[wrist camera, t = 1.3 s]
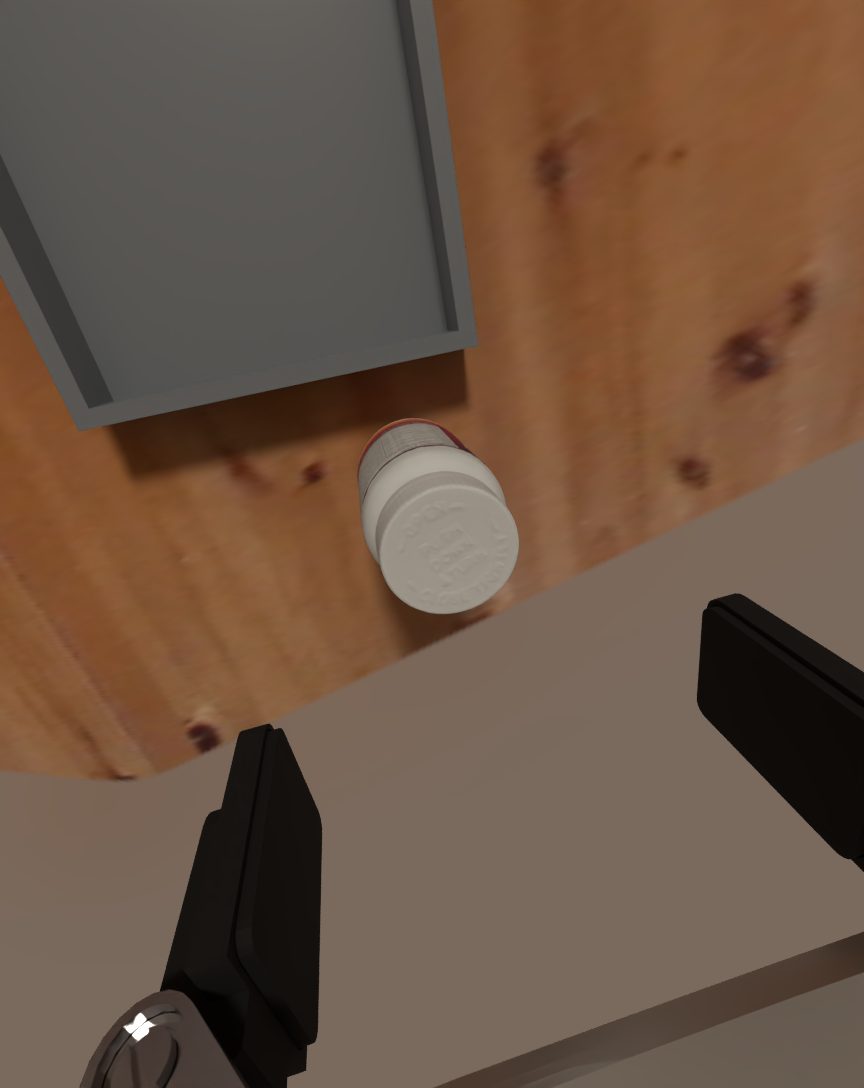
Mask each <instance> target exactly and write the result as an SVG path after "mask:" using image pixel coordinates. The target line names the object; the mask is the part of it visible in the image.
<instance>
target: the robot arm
mask: <svg viewBox="0 0 864 1088" xmlns="http://www.w3.org/2000/svg"><path fill="white" fill-rule="evenodd" d="M697 703H698V706H699V709H700V711H701V712H702V714H703V715H704V716H705V717H706V718H707V719H708V720H709V722H711V724H712V725H713V726H714V727H715V728H716V729H717V730H718V731H719V732H720V733H721V734H722V735H723V736H724V737H725V738H726V739H727V740H728V741H729V742H730V743H731V744H732V745H733V746H734V747H735V748H736V749H737V750H738V751H739V753H740V754H742V756H743V757H744V758H745V759H746V760H747V761H748V762H749V763H750V764H751V765H752V766H753V767H754V768H755V769H756V770H757V771H758V772H759V773H760V774H761V775H762V776H763V777H764V778H765V779H766V780H767V781H768V782H769V783H770V785H771V786H772V787H773V788H774V789H775V790H776V791H777V792H778V793H779V794H780V795H781V796H782V797H783V798H784V799H785V800H786V801H787V802H788V803H789V804H790V805H791V806H792V807H793V808H794V809H795V810H796V811H797V812H798V813H799V814H800V816H802V818H803V819H804V820H805V821H806V822H807V823H808V824H809V825H810V826H811V827H812V828H813V829H814V830H815V831H816V832H817V833H818V834H819V835H820V836H821V837H822V838H823V839H824V840H825V841H826V842H827V843H828V844H829V845H830V846H831V847H832V848H833V849H834V850H835V851H836V852H837V853H838V854H839V855H841V856H842V857H844V858H846V859H851V860H852V861H854V863H855V864H856V865H858V867H859V868H860V869H861V870H862V871H863V872H864V672H863V671H861V670H859V669H858V668H856V667H854V666H853V665H852V664H850V663H848V662H847V661H845V660H844V659H842V658H840V657H839V656H837V655H836V654H834V653H833V652H831V651H830V650H828V649H827V648H825V647H823V646H822V645H820V644H819V643H817V642H816V641H814V640H813V639H811V638H809V637H808V636H806V635H804V634H803V633H801V632H800V631H798V630H797V629H795V628H794V627H792V626H790V625H789V624H787V623H786V622H784V621H783V620H781V619H780V618H778V617H776V616H775V615H773V614H772V613H770V612H769V611H767V610H766V609H764V608H762V607H761V606H759V605H757V604H756V603H755V602H753V601H751V600H750V599H748V598H747V597H745V596H743V595H741V594H736V593H735V594H732V595H728V596H724V597H721V598H717V599H714V600H711V601H710V602H709V604H708V606H707V609H705V610H704V611H703V615H702V630H701V645H700V660H699V675H698V690H697ZM321 856H322V824H321V818H320V814H319V811H318V809H317V807H316V805H315V802H314V800H313V798H312V795H311V793H310V791H309V788H308V786H307V784H306V782H305V780H304V777H303V775H302V772H301V770H300V768H299V766H298V763H297V761H296V759H295V756H294V754H293V752H292V749H291V747H290V745H289V743H288V741H287V738H286V736H285V733H284V731H283V730H282V729H281V728H278V729H275V730H274V729H273V727H272V725H271V724H265V725H262V726H258V727H255V728H251V729H247V730H244V731H241V732H240V733H239V736H238V739H237V743H236V747H235V752H234V756H233V761H232V765H231V769H230V773H229V777H228V782H227V786H226V790H225V794H224V799H223V803H222V808H221V809H219V810H216V811H213V812H211V813H210V814H209V815H208V816H207V818H206V820H205V823H204V825H203V829H202V833H201V837H200V840H199V844H198V848H197V852H196V856H195V859H194V863H193V867H192V871H191V874H190V879H189V882H188V886H187V890H186V894H185V897H184V901H183V905H182V909H181V913H180V916H179V920H178V924H177V928H176V932H175V936H174V939H173V943H172V947H171V951H170V955H169V958H168V962H167V966H166V970H165V974H164V978H163V981H162V985H161V989H160V992H157V993H153V994H151V995H150V996H148V997H146V998H144V999H142V1000H141V1001H139V1002H137V1003H136V1004H135V1005H134V1006H133V1007H131V1008H130V1009H129V1010H128V1011H127V1012H126V1013H124V1014H123V1015H122V1016H121V1017H120V1018H119V1019H118V1020H117V1021H116V1023H115V1024H114V1025H113V1026H112V1028H111V1029H110V1030H109V1031H108V1032H107V1034H106V1035H105V1036H104V1037H103V1039H102V1041H101V1043H100V1044H99V1046H98V1047H97V1049H96V1051H95V1052H94V1054H93V1056H92V1057H91V1059H90V1061H89V1064H88V1066H87V1069H86V1071H85V1074H84V1076H83V1079H82V1082H81V1084H80V1088H287V1077H289V1076H292V1075H295V1074H298V1073H301V1072H303V1071H306V1058H307V1045H310V1044H312V1043H314V1042H315V1041H316V1038H317V1032H318V999H319V998H318V997H319V952H320V906H321V859H322V857H321ZM434 1088H864V932H862V933H860V934H857V935H853V936H851V937H848V938H845V939H842V940H839V941H836V942H834V943H831V944H828V945H825V946H822V947H819V948H817V949H814V950H811V951H808V952H805V953H802V954H800V955H797V956H794V957H791V958H788V959H786V960H783V961H780V962H777V963H774V964H771V965H769V966H766V967H763V968H760V969H757V970H755V971H752V972H749V973H746V974H743V975H741V976H738V977H735V978H733V979H729V980H727V981H724V982H721V983H719V984H716V985H713V986H710V987H707V988H704V989H702V990H699V991H696V992H693V993H690V994H688V995H685V996H682V997H680V998H677V999H674V1000H671V1001H668V1002H665V1003H663V1004H660V1005H657V1006H655V1007H652V1008H649V1009H646V1010H643V1011H640V1012H638V1013H635V1014H632V1015H629V1016H627V1017H624V1018H621V1019H618V1020H616V1021H613V1022H610V1023H607V1024H604V1025H602V1026H599V1027H596V1028H594V1029H591V1030H588V1031H586V1032H583V1033H580V1034H577V1035H574V1036H572V1037H569V1038H566V1039H563V1040H561V1041H558V1042H555V1043H553V1044H550V1045H547V1046H544V1047H542V1048H539V1049H536V1050H533V1051H531V1052H528V1053H525V1054H522V1055H520V1056H517V1057H514V1058H512V1059H509V1060H506V1061H503V1062H501V1063H498V1064H495V1065H493V1066H490V1067H487V1068H484V1069H481V1070H479V1071H476V1072H473V1073H471V1074H468V1075H465V1076H462V1077H460V1078H457V1079H455V1080H452V1081H449V1082H447V1083H444V1084H442V1085H439V1086H437V1087H434Z"/></svg>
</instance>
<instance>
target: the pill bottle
mask: <svg viewBox="0 0 864 1088" xmlns="http://www.w3.org/2000/svg"><path fill="white" fill-rule="evenodd" d="M358 487H359V496H360V509H361V522H362V528H363V534H364V538H365V541H366V544H367V546H368V548H369V551H370V553H371V554H372V556H373V557H374V559H375V560H376V562H377V563H378V564H379V565H380V568H381V572H382V574H383V577H384V579H385V581H386V583H387V584H388V586H389V588H390V589H391V590H392V592H393V593H394V594H395V595H396V596H397V597H398V598H399V599H401V600H402V601H403V602H404V603H406V604H408V605H409V606H411V607H414V608H416V609H418V610H421V611H424V612H428V613H434V614H452V613H459V612H463V611H466V610H469V609H472V608H474V607H476V606H479V605H481V604H482V603H484V602H485V601H487V600H488V599H490V598H491V597H492V596H493V595H495V594H496V593H497V592H498V591H499V590H500V589H501V588H502V587H503V585H504V584H505V583H506V581H507V580H508V578H509V577H510V575H511V573H512V571H513V569H514V567H515V564H516V560H517V557H518V550H519V538H518V532H517V527H516V524H515V521H514V519H513V517H512V515H511V513H510V512H509V510H508V509H507V507H506V503H505V498H504V495H503V492H502V489H501V487H500V485H499V483H498V481H497V479H496V478H495V476H494V475H493V474H492V472H491V471H490V470H489V469H488V467H487V466H486V465H485V464H484V463H483V462H482V461H481V460H479V459H478V458H477V457H476V456H475V455H474V454H473V453H472V452H471V451H470V450H469V449H468V448H467V447H466V446H464V445H463V444H462V443H461V442H460V441H459V440H458V439H457V438H456V437H455V436H454V435H453V434H452V433H451V432H450V431H448V430H447V429H446V428H444V427H443V426H441V425H439V424H437V423H435V422H432V421H429V420H426V419H419V418H407V419H401V420H398V421H394V422H392V423H390V424H388V425H386V426H384V427H383V428H381V429H380V430H379V431H377V432H376V433H375V434H374V435H373V436H372V437H371V438H370V440H369V441H368V443H367V444H366V446H365V447H364V449H363V451H362V454H361V456H360V460H359V465H358Z"/></svg>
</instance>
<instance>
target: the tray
mask: <svg viewBox="0 0 864 1088" xmlns="http://www.w3.org/2000/svg"><path fill="white" fill-rule="evenodd" d="M0 276H1V278H2V280H3V281H4V283H5V285H6V287H7V289H8V291H9V293H10V295H11V297H12V299H13V301H14V303H15V305H16V307H17V309H18V311H19V313H20V315H21V317H22V319H23V321H24V323H25V325H26V327H27V329H28V331H29V333H30V335H31V337H32V339H33V341H34V343H35V345H36V347H37V349H38V351H39V353H40V355H41V357H42V359H43V361H44V363H45V365H46V367H47V369H48V371H49V373H50V375H51V377H52V379H53V381H54V383H55V385H56V387H57V389H58V391H59V393H60V395H61V397H62V399H63V401H64V403H65V405H66V407H67V409H68V411H69V413H70V415H71V417H72V419H73V421H74V423H75V425H76V426H77V428H78V430H79V431H82V430H87V429H92V428H96V427H101V426H106V425H110V424H115V423H120V422H124V421H129V420H134V419H139V418H143V417H148V416H153V415H157V414H162V413H167V412H171V411H176V410H181V409H185V408H190V407H195V406H199V405H204V404H209V403H213V402H218V401H223V400H227V399H232V398H237V397H241V396H246V395H251V394H255V393H260V392H265V391H269V390H274V389H279V388H283V387H288V386H293V385H297V384H302V383H307V382H311V381H316V380H321V379H325V378H330V377H335V376H339V375H344V374H349V373H354V372H358V371H363V370H368V369H372V368H377V367H382V366H386V365H391V364H396V363H400V362H405V361H410V360H414V359H419V358H424V357H428V356H433V355H438V354H442V353H447V352H452V351H456V350H461V349H466V348H470V347H475V346H478V339H477V332H476V324H475V317H474V310H473V302H472V295H471V287H470V280H469V272H468V265H467V257H466V250H465V242H464V235H463V227H462V220H461V212H460V205H459V197H458V190H457V182H456V175H455V167H454V160H453V152H452V145H451V137H450V130H449V122H448V115H447V108H446V100H445V93H444V85H443V78H442V70H441V63H440V55H439V48H438V40H437V33H436V25H435V18H434V10H433V3H432V0H0Z"/></svg>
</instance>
